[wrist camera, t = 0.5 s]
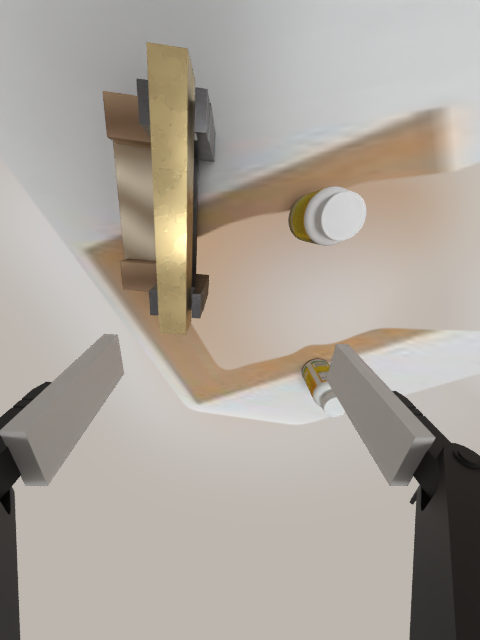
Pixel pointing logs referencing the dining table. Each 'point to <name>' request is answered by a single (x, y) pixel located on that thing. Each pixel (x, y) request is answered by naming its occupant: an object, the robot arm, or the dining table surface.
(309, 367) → the supplement bottle
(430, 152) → the dining table surface
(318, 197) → the pill bottle
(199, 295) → the rack
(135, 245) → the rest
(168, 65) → the rail
